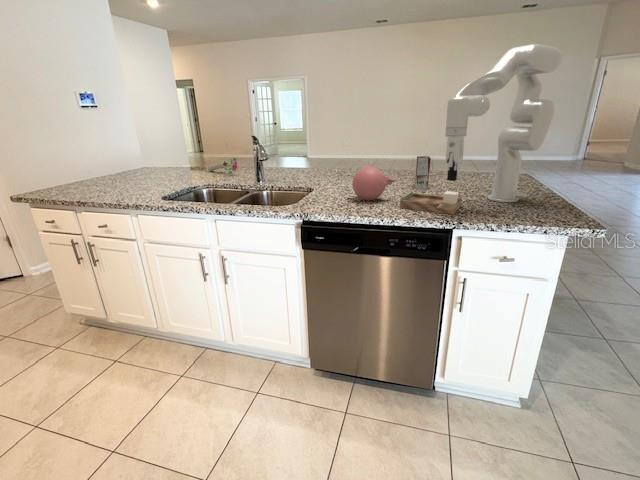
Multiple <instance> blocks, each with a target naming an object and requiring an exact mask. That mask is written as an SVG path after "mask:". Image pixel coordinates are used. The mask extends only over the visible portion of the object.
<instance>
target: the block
mask: <svg viewBox="0 0 640 480" xmlns="http://www.w3.org/2000/svg"><path fill="white" fill-rule="evenodd" d="M459 193H460V192H459V191H449V190H446V191H445V192H444V193H443V203H448V204H456V203H457V201H458V198H459Z"/></svg>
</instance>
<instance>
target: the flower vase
mask: <svg viewBox="0 0 640 480" xmlns="http://www.w3.org/2000/svg"><path fill="white" fill-rule="evenodd" d="M238 164H239V162H238V160H237V157H233V158H230V163H229V162H227V160H225V159H223V160H221V161H220V162H218V163H215V164H209V165H207V167H206V168H207V171H208V172H210V171H212V172H214V171H215V170H219V169H224V170H225V171H228V173H227V174H228V176H230V175H232V174H233V172H236V171H238V168H239V165H238ZM229 174H230V175H229Z"/></svg>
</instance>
